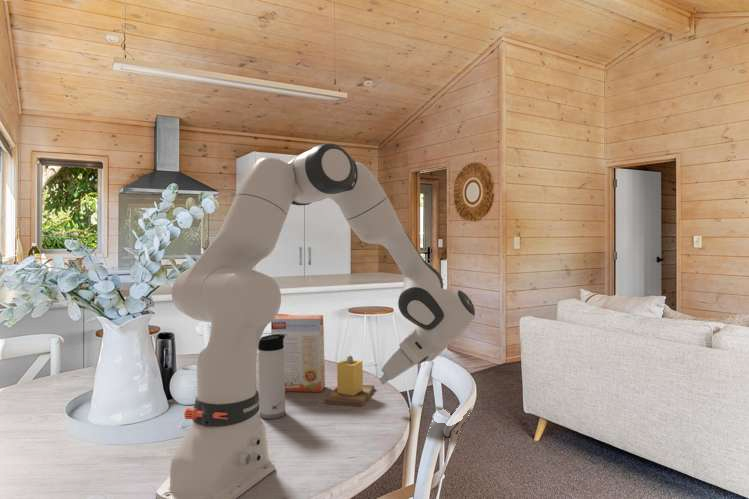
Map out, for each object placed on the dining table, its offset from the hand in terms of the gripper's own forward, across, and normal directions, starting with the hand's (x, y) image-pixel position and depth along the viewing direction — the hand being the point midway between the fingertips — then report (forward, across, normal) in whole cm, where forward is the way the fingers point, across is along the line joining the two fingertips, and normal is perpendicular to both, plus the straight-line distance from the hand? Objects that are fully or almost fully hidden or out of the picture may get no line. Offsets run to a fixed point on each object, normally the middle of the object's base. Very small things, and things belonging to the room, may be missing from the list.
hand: (390, 376), depth 136 cm
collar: (+13, 0, -5) cm, 14 cm away
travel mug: (+21, +20, -11) cm, 31 cm away
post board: (+14, 0, -4) cm, 14 cm away
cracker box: (+25, +1, -15) cm, 29 cm away
